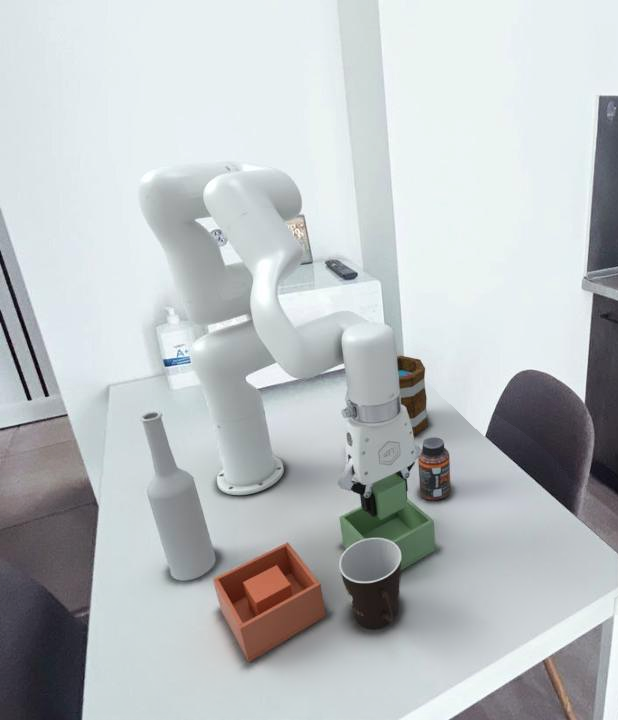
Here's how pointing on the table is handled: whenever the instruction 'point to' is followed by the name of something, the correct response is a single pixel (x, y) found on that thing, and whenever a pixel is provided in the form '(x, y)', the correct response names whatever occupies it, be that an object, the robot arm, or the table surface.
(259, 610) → the terracotta block
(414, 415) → the mug
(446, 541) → the table surface
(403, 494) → the sage block
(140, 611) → the table surface
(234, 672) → the table surface
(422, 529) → the sage bin
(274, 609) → the terracotta bin
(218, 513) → the table surface
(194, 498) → the bottle
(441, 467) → the supplement bottle
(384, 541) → the coffee mug
